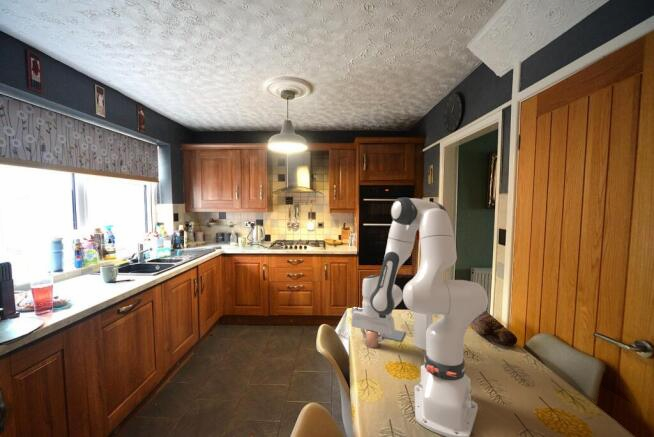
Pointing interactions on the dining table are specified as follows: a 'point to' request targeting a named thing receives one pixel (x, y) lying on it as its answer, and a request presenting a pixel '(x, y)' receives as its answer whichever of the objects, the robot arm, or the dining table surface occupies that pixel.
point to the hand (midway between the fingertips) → (372, 339)
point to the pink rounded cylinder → (372, 339)
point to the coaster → (395, 336)
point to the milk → (421, 329)
